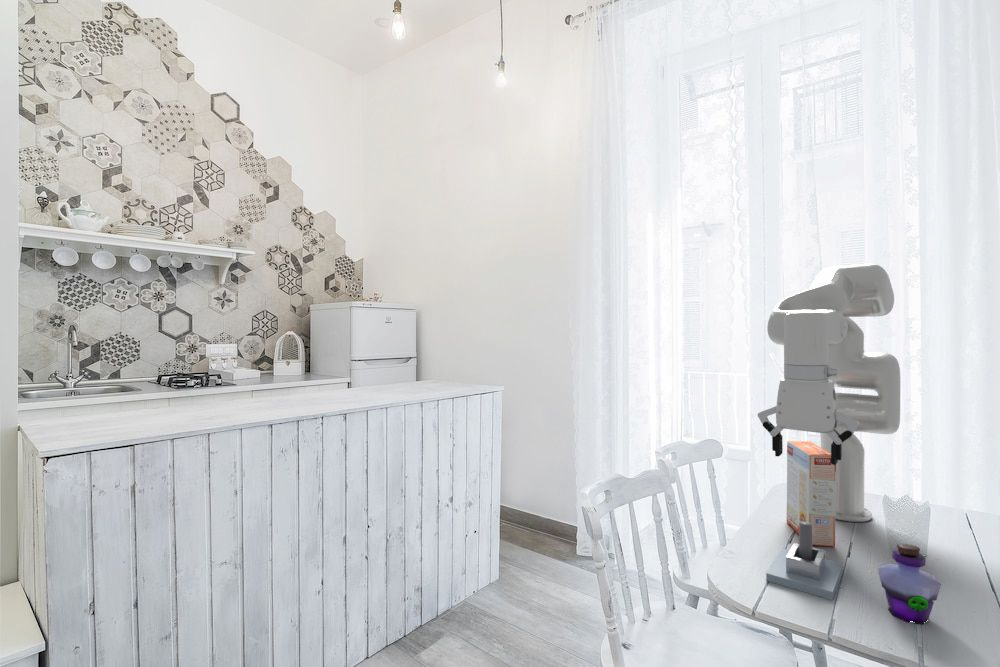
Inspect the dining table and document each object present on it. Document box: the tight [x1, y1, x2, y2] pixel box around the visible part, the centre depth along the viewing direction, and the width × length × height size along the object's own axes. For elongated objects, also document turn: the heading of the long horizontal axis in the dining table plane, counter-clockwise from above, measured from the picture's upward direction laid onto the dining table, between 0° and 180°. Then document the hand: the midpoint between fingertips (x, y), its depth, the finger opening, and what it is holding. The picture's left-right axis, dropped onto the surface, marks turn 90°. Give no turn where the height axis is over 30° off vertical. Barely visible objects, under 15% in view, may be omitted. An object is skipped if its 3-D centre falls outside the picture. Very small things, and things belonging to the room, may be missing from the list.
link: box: [786, 542, 826, 581], centre depth 101 cm, size 8×6×3 cm
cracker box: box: [786, 440, 836, 548], centre depth 120 cm, size 14×6×21 cm, turn 168°
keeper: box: [765, 522, 844, 601], centre depth 101 cm, size 14×11×10 cm
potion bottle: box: [877, 543, 942, 625], centre depth 87 cm, size 9×9×12 cm
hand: (805, 458), depth 101 cm, fingers open, 9 cm apart
